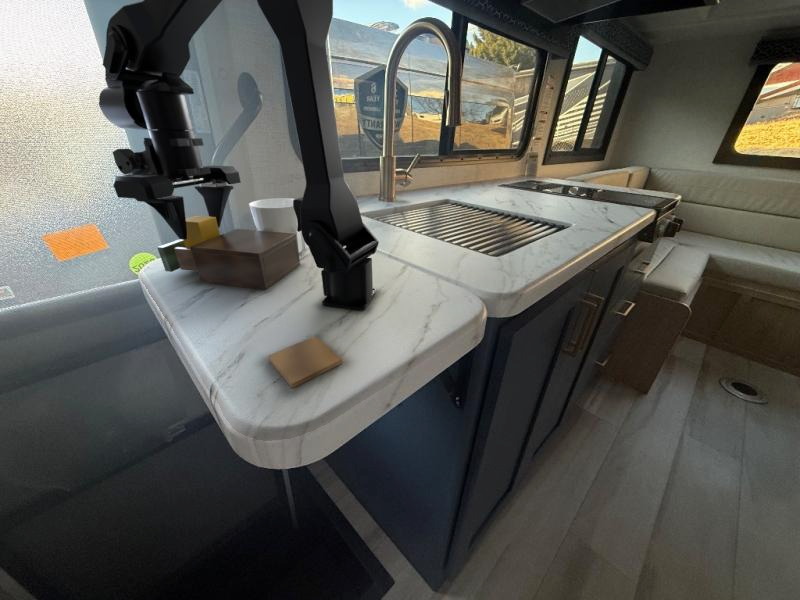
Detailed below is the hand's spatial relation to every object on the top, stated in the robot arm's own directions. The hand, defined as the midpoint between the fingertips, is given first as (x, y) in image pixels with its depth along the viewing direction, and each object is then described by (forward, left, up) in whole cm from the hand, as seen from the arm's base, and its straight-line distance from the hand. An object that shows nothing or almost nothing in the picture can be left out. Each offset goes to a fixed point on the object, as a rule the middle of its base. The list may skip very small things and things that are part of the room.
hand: (201, 233), depth 54 cm
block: (0, 0, -4) cm, 4 cm away
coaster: (-29, +20, -6) cm, 36 cm away
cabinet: (-9, 0, -6) cm, 11 cm away
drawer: (0, 0, -6) cm, 6 cm away
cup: (-8, -12, -7) cm, 16 cm away
